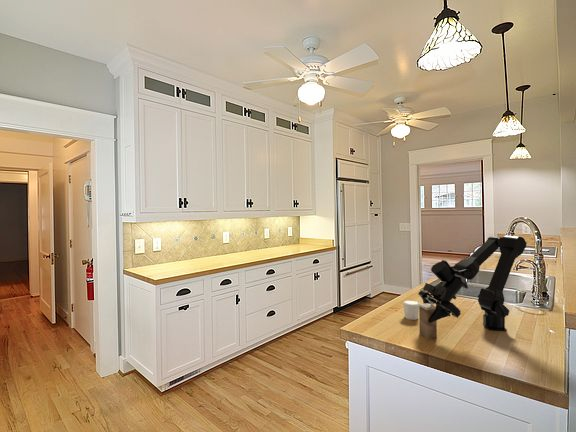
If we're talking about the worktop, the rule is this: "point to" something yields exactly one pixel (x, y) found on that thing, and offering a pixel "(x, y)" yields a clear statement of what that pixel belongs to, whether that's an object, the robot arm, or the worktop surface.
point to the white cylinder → (411, 309)
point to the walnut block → (425, 327)
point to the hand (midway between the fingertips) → (424, 319)
